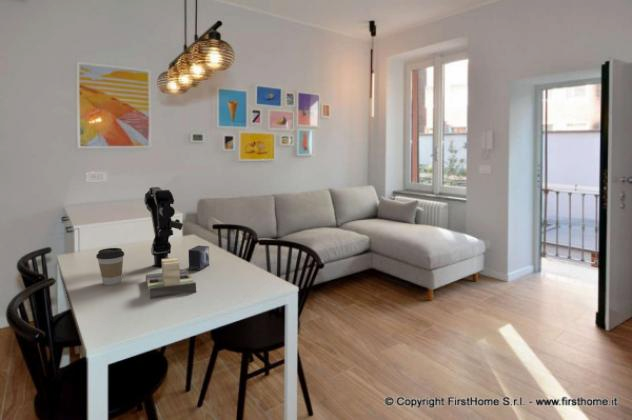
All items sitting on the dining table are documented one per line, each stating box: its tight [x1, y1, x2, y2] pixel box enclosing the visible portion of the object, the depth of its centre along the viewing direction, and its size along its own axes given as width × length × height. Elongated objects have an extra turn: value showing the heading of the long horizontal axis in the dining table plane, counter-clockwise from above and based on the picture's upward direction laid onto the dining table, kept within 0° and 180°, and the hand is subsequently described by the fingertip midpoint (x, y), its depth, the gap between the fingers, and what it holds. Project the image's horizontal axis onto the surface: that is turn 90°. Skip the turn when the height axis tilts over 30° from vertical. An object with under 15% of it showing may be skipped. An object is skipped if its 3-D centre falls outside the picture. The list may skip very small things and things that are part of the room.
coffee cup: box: [95, 247, 125, 286], centre depth 180 cm, size 11×11×15 cm
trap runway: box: [145, 269, 197, 300], centre depth 176 cm, size 25×18×4 cm
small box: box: [188, 245, 210, 272], centre depth 204 cm, size 11×6×10 cm, turn 168°
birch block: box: [161, 256, 180, 286], centre depth 170 cm, size 9×6×10 cm, turn 26°
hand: (165, 247), depth 196 cm, fingers closed
